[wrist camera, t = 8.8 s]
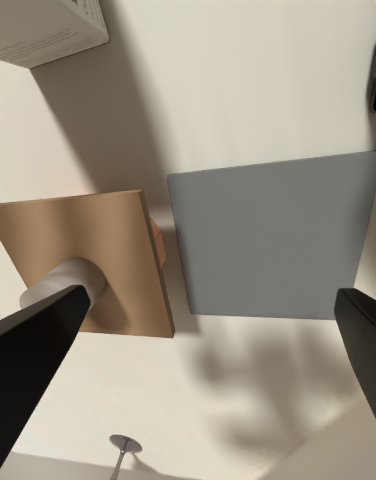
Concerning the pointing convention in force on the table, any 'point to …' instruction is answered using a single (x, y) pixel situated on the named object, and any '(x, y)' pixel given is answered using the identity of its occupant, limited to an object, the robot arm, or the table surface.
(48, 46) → the supplement box
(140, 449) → the wine glass
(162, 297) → the lid
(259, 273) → the mat
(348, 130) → the table surface
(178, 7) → the table surface
